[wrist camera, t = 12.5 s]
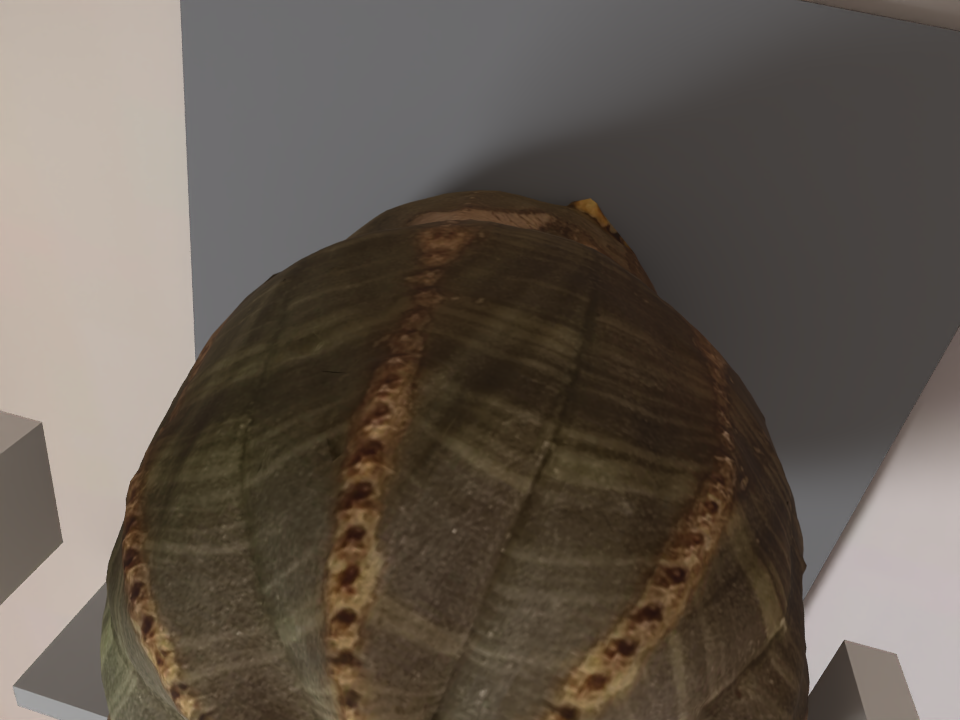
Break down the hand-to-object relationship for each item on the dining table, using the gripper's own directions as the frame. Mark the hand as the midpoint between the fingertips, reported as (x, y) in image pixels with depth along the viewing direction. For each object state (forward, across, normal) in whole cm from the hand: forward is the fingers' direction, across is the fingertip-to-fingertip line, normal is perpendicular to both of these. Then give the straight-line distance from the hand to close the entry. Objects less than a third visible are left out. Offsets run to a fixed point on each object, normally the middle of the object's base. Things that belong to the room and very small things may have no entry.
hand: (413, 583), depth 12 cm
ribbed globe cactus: (+8, +1, 0) cm, 8 cm away
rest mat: (+8, +1, 0) cm, 8 cm away
